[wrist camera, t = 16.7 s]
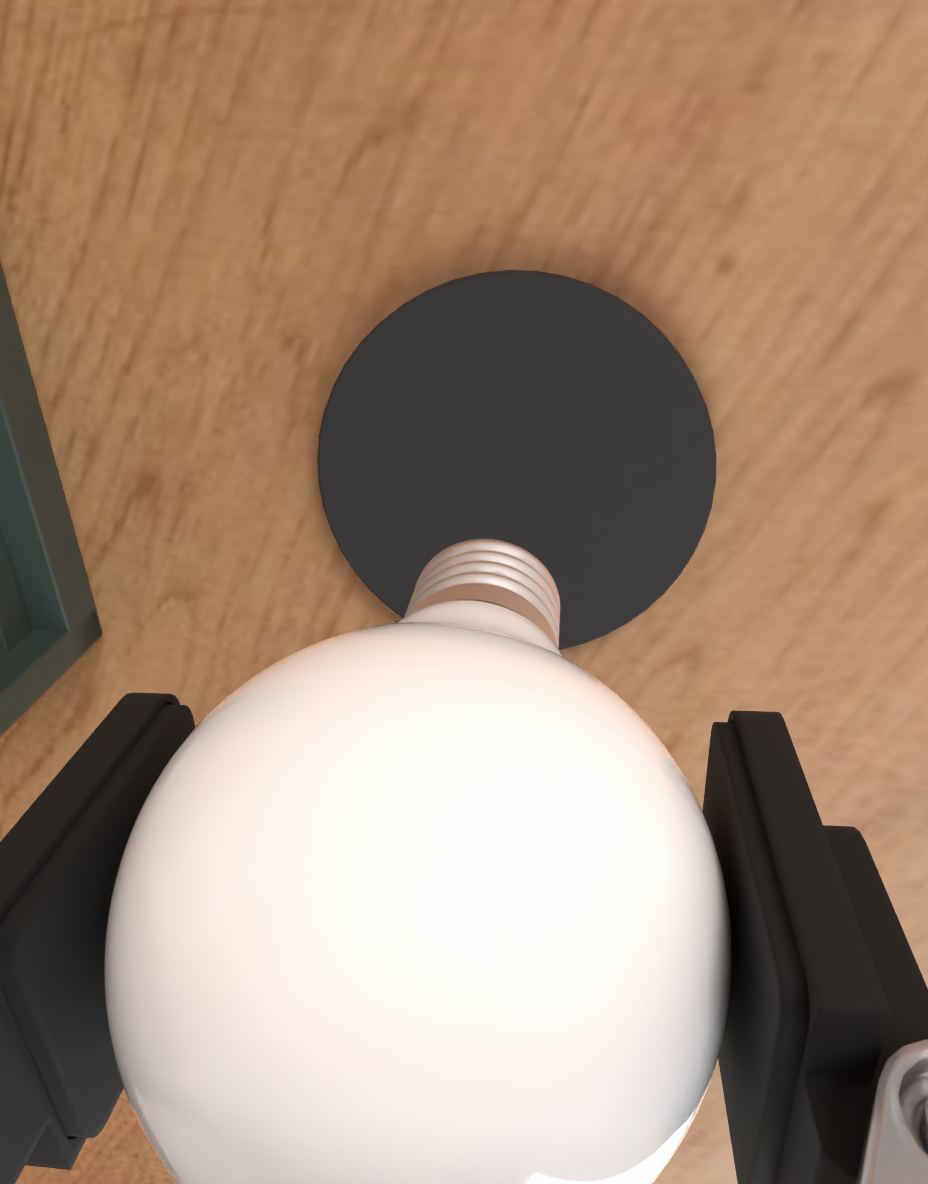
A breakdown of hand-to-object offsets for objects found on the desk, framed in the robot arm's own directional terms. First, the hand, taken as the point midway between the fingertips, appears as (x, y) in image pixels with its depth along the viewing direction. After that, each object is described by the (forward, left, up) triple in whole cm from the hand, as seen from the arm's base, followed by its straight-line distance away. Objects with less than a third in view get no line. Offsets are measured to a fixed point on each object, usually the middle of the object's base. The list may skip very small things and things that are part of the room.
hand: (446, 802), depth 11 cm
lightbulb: (0, 0, -6) cm, 6 cm away
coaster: (0, 0, -12) cm, 12 cm away
